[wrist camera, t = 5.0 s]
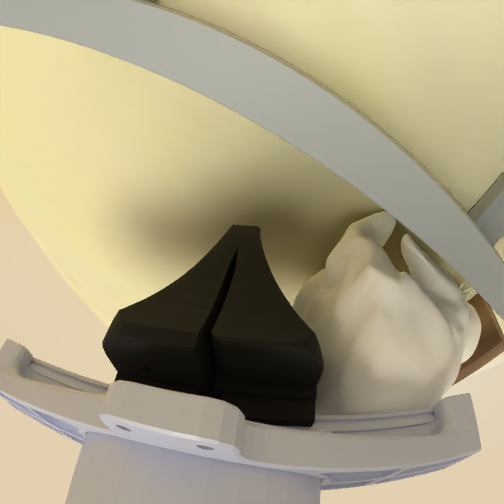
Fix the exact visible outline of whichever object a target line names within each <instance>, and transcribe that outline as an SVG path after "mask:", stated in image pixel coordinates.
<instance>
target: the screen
mask: <svg viewBox="0 0 504 504" xmlns="http://www.w3.org/2000/svg"><path fill="white" fill-rule="evenodd" d="M155 1H156V0H0V26H6V27H11V28H16V29H21V30H26V31H30V32H35V33H39V34H43V35H47V36H51V37H54V38H58V39H62V40H65V41H68V42H72V43H75V44H78V45H82V46H85V47H88V48H91V49H94V50H97V51H100V52H103V53H105V54H108V55H111V56H114V57H116V58H119V59H122V60H124V61H127V62H130V63H132V64H135V65H137V66H140V67H142V68H144V69H147V70H149V71H152V72H154V73H156V74H159V75H161V76H163V77H165V78H168V79H170V80H172V81H174V82H177V83H179V84H181V85H183V86H185V87H187V88H189V89H191V90H194V91H196V92H198V93H200V94H202V95H204V96H206V97H208V98H210V99H212V100H214V101H216V102H218V103H220V104H221V105H223V106H225V107H227V108H229V109H231V110H233V111H235V112H236V113H238V114H240V115H242V116H244V117H246V118H247V119H249V120H251V121H253V122H254V123H256V124H258V125H260V126H261V127H263V128H265V129H267V130H268V131H270V132H272V133H273V134H275V135H277V136H278V137H280V138H282V139H283V140H285V141H286V142H288V143H290V144H291V145H293V146H295V147H296V148H298V149H299V150H301V151H302V152H304V153H306V154H307V155H309V156H310V157H312V158H313V159H315V160H316V161H318V162H319V163H321V164H322V165H324V166H325V167H327V168H328V169H330V170H331V171H333V172H334V173H335V174H337V175H338V176H340V177H341V178H343V179H344V180H345V181H347V182H348V183H350V184H351V185H352V186H354V187H355V188H357V189H358V190H359V191H361V192H362V193H363V194H365V195H366V196H367V197H369V198H370V199H371V200H373V201H374V202H375V203H377V204H378V205H379V206H380V207H382V208H383V209H384V210H386V211H387V212H388V213H389V214H391V215H392V216H393V217H394V218H396V219H397V220H398V221H399V222H401V223H402V224H403V225H404V226H406V227H407V228H408V229H409V230H410V231H412V232H413V233H414V234H415V235H416V236H417V237H419V238H420V239H421V240H422V241H423V242H424V243H426V244H427V245H428V246H429V247H430V248H431V249H432V250H434V251H435V252H436V253H437V254H438V255H439V256H440V257H441V258H442V259H443V260H445V261H446V262H447V263H448V264H449V265H450V266H451V267H452V268H453V269H454V270H455V271H456V272H457V273H458V274H459V275H461V276H462V277H463V278H464V279H465V280H466V281H467V282H468V283H469V284H470V285H471V286H472V287H473V288H474V289H475V290H476V291H477V292H478V293H479V294H480V295H481V296H482V298H483V299H484V300H485V301H486V302H487V303H488V304H489V305H490V306H491V307H492V308H493V309H494V310H495V311H496V312H497V314H498V315H499V316H500V317H501V318H502V319H503V320H504V261H503V260H502V259H501V257H500V256H499V254H498V253H497V251H496V250H495V248H494V247H493V246H494V244H495V243H496V242H497V241H498V240H499V239H500V238H501V237H502V236H503V235H504V173H502V174H501V175H500V177H499V178H498V179H497V180H496V182H495V183H494V184H493V185H492V186H491V188H490V189H489V190H488V191H487V192H486V193H485V195H484V196H483V197H482V198H481V199H480V200H479V201H478V203H477V204H476V205H475V206H474V207H473V208H472V209H471V210H470V211H469V212H468V214H467V213H466V211H465V210H464V209H463V208H462V207H461V206H460V204H459V203H458V202H457V201H456V200H455V199H454V198H453V197H452V195H451V194H450V193H449V192H448V191H447V190H446V189H445V188H444V187H443V186H442V185H441V184H440V183H439V182H438V181H437V179H436V178H435V177H434V176H433V175H432V174H431V173H430V172H429V171H428V170H427V169H426V168H425V167H424V166H423V165H421V164H420V163H419V162H418V161H417V160H416V159H415V158H414V157H413V156H412V155H411V154H410V153H409V152H408V151H407V150H406V149H404V148H403V147H402V146H401V145H400V144H399V143H398V142H397V141H395V140H394V139H393V138H392V137H391V136H390V135H388V134H387V133H386V132H385V131H384V130H383V129H381V128H380V127H379V126H378V125H377V124H375V123H374V122H373V121H372V120H370V119H369V118H368V117H367V116H365V115H364V114H363V113H361V112H360V111H359V110H357V109H356V108H355V107H353V106H352V105H351V104H349V103H348V102H347V101H345V100H344V99H343V98H341V97H340V96H338V95H337V94H336V93H334V92H333V91H331V90H330V89H328V88H327V87H325V86H324V85H322V84H321V83H319V82H318V81H316V80H315V79H313V78H312V77H310V76H309V75H307V74H305V73H304V72H302V71H301V70H299V69H297V68H296V67H294V66H292V65H291V64H289V63H287V62H286V61H284V60H282V59H280V58H279V57H277V56H275V55H273V54H271V53H270V52H268V51H266V50H264V49H262V48H260V47H258V46H256V45H254V44H253V43H251V42H249V41H247V40H245V39H242V38H240V37H238V36H236V35H234V34H232V33H230V32H228V31H225V30H223V29H221V28H219V27H216V26H214V25H212V24H209V23H207V22H205V21H202V20H200V19H197V18H195V17H192V16H189V15H187V14H184V13H181V12H178V11H176V10H173V9H170V8H167V7H164V6H161V5H157V4H154V3H155Z"/></svg>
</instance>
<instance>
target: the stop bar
mask: <svg viewBox="0 0 504 504" xmlns="http://www.w3.org/2000/svg"><path fill="white" fill-rule="evenodd" d="M468 303H469V304H470V305H472V306H473V307H474V309H475V310H476V312H477V314H478V316H479V318H480V322H481V334H480V338H479V342H478V345H477V347H476V349H475V351H474V353H473V355H472V356H471V357H470V358H469V359H468V360H467V361H465V362H464V363H462V364H461V366H460V370H459V373H458V376H457V378H456V380H455V382H454V384H456V383H458V382H459V381H461V380H463V379H464V378H466V377H467V376H469V375H470V374H472V373H473V372H475V371H477V370H478V369H479V368H481V367H482V366H484V365H485V364H487V363H488V362H490V361H491V360H492V359H494V358H495V357H497V356H498V355H499V354H501V353H502V352H503V351H504V335H503V332H502V330H501V328H500V326H499V323H498V321H497V319H496V317H495V315H494V313H493V311H492V309H491V306H490V305H489V304H488V303H487V302H486V301H485V300H484V299H483V298H482V296H481V295H480V294H479V293H478V294H477V295H476V296H475V297H473V298H472V299H471V300H470V301H469V302H468ZM454 384H453V385H454ZM453 385H452V386H453Z"/></svg>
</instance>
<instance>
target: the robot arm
mask: <svg viewBox="0 0 504 504" xmlns="http://www.w3.org/2000/svg"><path fill="white" fill-rule="evenodd" d="M102 343H103V349H104V351H105V353H106V355H107V357H108V358H109V360H110V361H111V363H112V364H113V365H114V367H115V368H116V370H117V371H118V373H117V375H116V378H115V381H114V382H113V383H111V384H106V383H103V382H100V381H97V380H93V379H90V378H87V377H84V376H81V375H78V374H75V373H73V372H69V371H67V370H64V369H62V368H59V367H56V366H54V365H51V364H49V363H46V362H44V361H41V360H39V359H36V358H34V357H33V356H32V354H31V353H30V352H29V350H28V349H27V348H26V347H24V346H23V345H21V344H19V343H17V342H15V341H12V340H10V339H7V340H6V341H5V343H4V345H3V346H2V348H1V350H0V396H1V397H2V398H4V399H5V400H6V401H7V402H8V403H10V404H11V405H12V406H13V407H15V408H16V409H18V410H19V411H21V412H23V413H24V414H26V415H28V416H29V417H31V418H33V419H34V420H36V421H38V422H40V423H41V424H43V425H45V426H47V427H49V428H50V429H53V430H54V431H56V432H58V433H60V434H62V435H64V436H66V437H68V438H70V439H72V440H74V441H76V442H78V443H80V444H82V448H81V451H80V455H79V458H78V461H77V464H76V467H75V471H74V474H73V477H72V481H71V484H70V488H69V492H68V496H67V499H66V503H65V504H320V490H330V489H342V488H351V487H358V486H366V485H372V484H379V483H384V482H390V481H395V480H400V479H404V478H409V477H414V476H417V475H422V474H426V473H430V472H434V471H438V470H441V469H445V468H447V467H449V466H451V465H453V464H456V463H457V462H460V461H461V460H464V459H465V458H468V457H469V456H472V455H473V454H475V453H477V452H479V451H480V450H481V443H480V438H479V432H478V427H477V422H476V417H475V413H474V408H473V404H472V400H471V395H470V394H469V393H466V394H460V395H455V396H449V397H446V398H444V399H442V400H440V401H439V402H438V403H436V405H435V406H434V407H432V408H425V409H418V410H410V411H401V412H391V413H378V414H362V415H315V400H316V398H317V385H318V383H319V381H320V379H321V376H322V374H323V370H324V361H323V356H322V352H321V348H320V345H319V342H318V339H317V336H316V333H315V332H314V331H313V330H312V329H311V328H310V327H309V326H308V325H307V324H306V323H305V322H304V321H303V320H302V319H301V317H300V316H299V315H298V314H297V313H296V311H295V310H294V309H293V307H292V306H291V305H290V303H289V302H288V300H287V299H286V297H285V296H284V295H283V293H282V291H281V290H280V288H279V286H278V284H277V283H276V281H275V279H274V277H273V275H272V272H271V270H270V268H269V265H268V263H267V260H266V257H265V254H264V251H263V248H262V244H261V239H260V228H259V227H258V226H243V225H232V226H231V227H230V228H229V230H228V231H227V232H226V233H225V235H224V236H223V237H222V238H221V239H220V240H219V242H218V243H217V244H216V245H215V246H214V247H213V248H212V249H211V250H210V251H209V253H208V254H207V255H205V256H204V257H203V258H202V259H201V260H200V261H199V262H198V263H197V264H196V265H195V266H194V267H193V268H192V269H190V270H189V271H188V272H187V273H185V274H184V275H183V276H182V277H180V278H179V279H177V280H176V281H174V282H173V283H171V284H170V285H168V286H167V287H165V288H164V289H162V290H160V291H159V292H157V293H155V294H153V295H151V296H150V297H148V298H146V299H144V300H142V301H140V302H137V303H135V304H133V305H130V306H128V307H126V308H123V309H121V310H119V311H118V313H117V314H116V316H115V318H114V319H113V321H112V323H111V325H110V327H109V329H108V331H107V333H106V336H105V338H104V340H103V342H102Z"/></svg>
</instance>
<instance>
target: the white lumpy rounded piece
mask: <svg viewBox="0 0 504 504" xmlns="http://www.w3.org/2000/svg"><path fill="white" fill-rule="evenodd" d="M395 224H396V219H395V218H394V217H393V216H392V215H391V214H389V213H388V212H385V211H382V212H380V213H374V214H372V215H370V216H368V217H365V218H363V219H361V220H359V221H358V222H354V223H352V224H351V225H350V226H349V227H348V228H347V230H346V232H345V233H344V235H343V237H342V238H341V239H340V241H339V242H338V243H337V245H336V246H335V248H334V249H333V250H332V252H331V253H330V255H329V256H328V258H327V260H326V264H325V269H322V270H321V271H319V272H318V273H317V274H316V275H314V276H312V277H310V278H308V279H307V280H306V282H305V284H304V285H303V287H302V289H301V290H300V292H299V293H298V295H297V297H296V299H295V301H294V304H293V309H294V310H295V311H296V313H297V314H298V315H299V316H300V317H301V319H302V320H303V321H304V322H305V323H306V324H307V325H308V326H309V327H310V328H311V329H312V330H313V331H314V332H315V333H316V336H317V339H318V342H319V345H320V348H321V352H322V356H323V361H324V370H323V374H322V376H321V379H320V381H319V383H318V385H317V398H316V400H315V415H362V414H378V413H391V412H401V411H410V410H418V409H425V408H432V407H434V406H435V405H436V403H438V402H439V401H440V400H441V399H442V396H443V395H444V394H445V393H446V391H448V390H449V388H450V387H451V386H452V385H453V384H454V382H455V380H456V378H457V376H458V373H459V370H460V366H461V364H462V363H464V362H465V361H467V360H468V359H469V358H470V357H471V356H472V355H473V353H474V351H475V349H476V347H477V345H478V342H479V338H480V334H481V322H480V318H479V316H478V314H477V312H476V310H475V309H474V307H473V306H472V305H470V304H469V303H468V302H466V301H464V299H465V298H467V297H469V296H471V295H467V296H463V295H465V294H468V293H470V292H471V291H473V290H474V289H473V290H470V291H468V292H465V291H467V290H468V289H470V288H468V289H465V290H462V291H461V290H460V288H461V287H462V286H463V284H464V283H463V284H462V285H461V286H460V287H458V285H457V283H456V282H455V280H454V278H453V277H452V276H451V275H450V274H449V273H448V272H447V271H445V270H444V269H443V268H441V267H440V266H439V265H437V264H436V263H435V262H434V261H433V260H432V259H431V258H430V257H429V256H428V255H427V254H426V253H425V252H424V251H423V250H422V249H421V248H420V247H419V246H418V245H417V244H416V243H415V242H414V240H413V239H412V237H411V236H410V235H409V234H405V235H404V236H403V238H402V240H401V251H402V255H403V257H404V260H405V262H406V264H407V266H408V268H409V270H410V275H409V274H408V273H407V272H405V271H404V272H399V271H398V270H397V269H395V267H394V266H393V264H392V262H391V260H390V258H389V256H388V255H387V253H386V252H385V251H384V249H383V248H382V247H383V246H384V245H385V243H386V242H387V240H388V238H389V237H390V235H391V234H392V232H393V230H394V228H395Z"/></svg>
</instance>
